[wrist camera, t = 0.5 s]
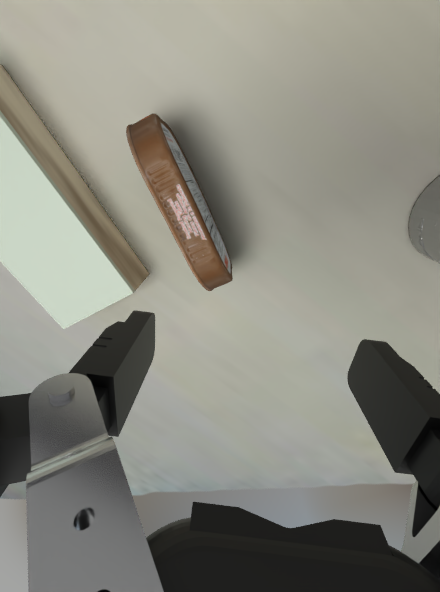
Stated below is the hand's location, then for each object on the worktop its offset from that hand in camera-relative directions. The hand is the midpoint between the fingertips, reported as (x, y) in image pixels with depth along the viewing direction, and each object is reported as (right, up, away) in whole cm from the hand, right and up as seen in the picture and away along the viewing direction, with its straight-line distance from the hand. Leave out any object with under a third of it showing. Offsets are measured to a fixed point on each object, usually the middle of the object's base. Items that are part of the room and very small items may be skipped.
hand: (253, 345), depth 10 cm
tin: (-4, +11, +17) cm, 21 cm away
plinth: (-19, +11, +18) cm, 29 cm away
